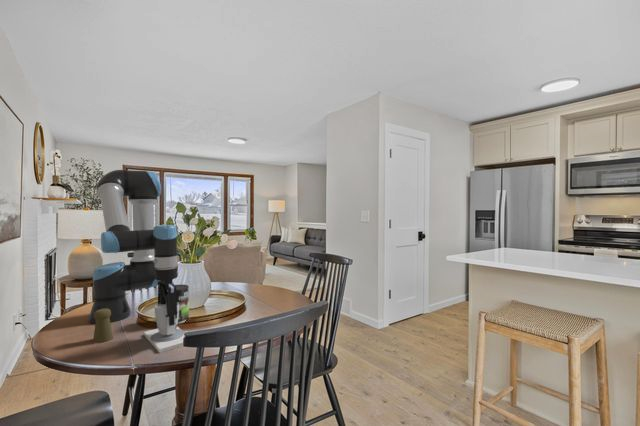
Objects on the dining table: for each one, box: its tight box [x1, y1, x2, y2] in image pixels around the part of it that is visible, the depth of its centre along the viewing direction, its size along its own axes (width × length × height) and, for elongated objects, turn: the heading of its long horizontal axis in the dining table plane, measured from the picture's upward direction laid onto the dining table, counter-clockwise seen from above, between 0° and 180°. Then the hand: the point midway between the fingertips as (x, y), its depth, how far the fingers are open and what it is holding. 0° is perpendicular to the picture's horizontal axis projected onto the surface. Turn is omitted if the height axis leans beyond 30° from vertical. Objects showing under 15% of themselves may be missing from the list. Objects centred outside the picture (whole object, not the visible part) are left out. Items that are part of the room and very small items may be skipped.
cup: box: [154, 302, 179, 335], centre depth 116 cm, size 8×8×10 cm
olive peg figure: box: [92, 309, 114, 344], centre depth 116 cm, size 6×6×11 cm
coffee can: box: [174, 284, 190, 325], centre depth 135 cm, size 10×10×14 cm
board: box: [143, 326, 186, 353], centre depth 116 cm, size 20×11×2 cm, turn 42°
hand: (167, 330), depth 116 cm, fingers closed on cup, 8 cm apart
